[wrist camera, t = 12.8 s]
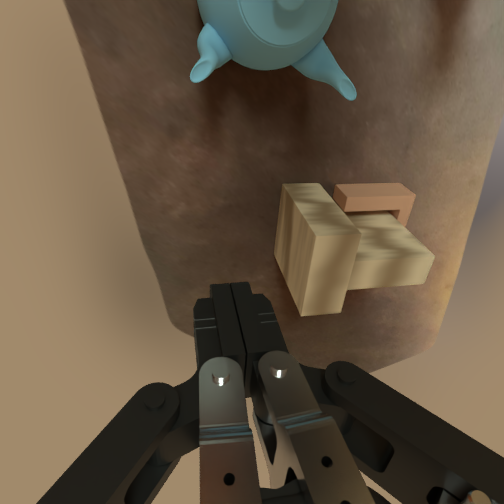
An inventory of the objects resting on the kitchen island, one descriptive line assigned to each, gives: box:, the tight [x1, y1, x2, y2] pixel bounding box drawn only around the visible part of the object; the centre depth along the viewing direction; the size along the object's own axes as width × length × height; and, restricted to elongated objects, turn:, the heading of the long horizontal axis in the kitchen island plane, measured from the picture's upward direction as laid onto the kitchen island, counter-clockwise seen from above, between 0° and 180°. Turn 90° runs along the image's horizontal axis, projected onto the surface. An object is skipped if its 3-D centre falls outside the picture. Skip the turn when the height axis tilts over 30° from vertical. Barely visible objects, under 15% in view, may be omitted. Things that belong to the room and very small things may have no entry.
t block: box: [274, 183, 435, 316], centre depth 47 cm, size 15×11×13 cm
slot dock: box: [333, 183, 416, 227], centre depth 52 cm, size 10×10×4 cm
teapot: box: [190, 0, 357, 101], centre depth 32 cm, size 15×15×10 cm
